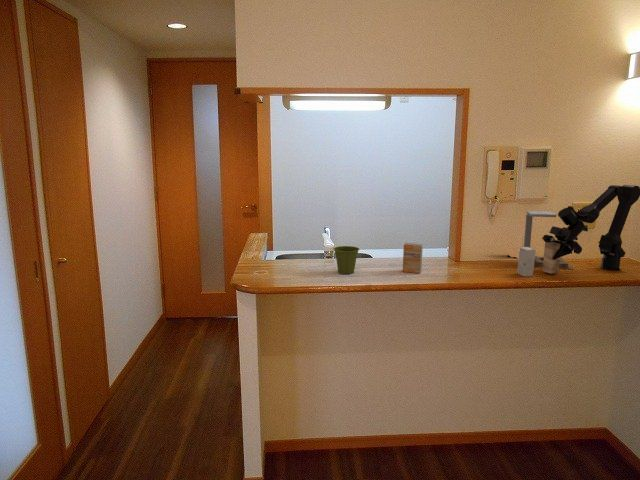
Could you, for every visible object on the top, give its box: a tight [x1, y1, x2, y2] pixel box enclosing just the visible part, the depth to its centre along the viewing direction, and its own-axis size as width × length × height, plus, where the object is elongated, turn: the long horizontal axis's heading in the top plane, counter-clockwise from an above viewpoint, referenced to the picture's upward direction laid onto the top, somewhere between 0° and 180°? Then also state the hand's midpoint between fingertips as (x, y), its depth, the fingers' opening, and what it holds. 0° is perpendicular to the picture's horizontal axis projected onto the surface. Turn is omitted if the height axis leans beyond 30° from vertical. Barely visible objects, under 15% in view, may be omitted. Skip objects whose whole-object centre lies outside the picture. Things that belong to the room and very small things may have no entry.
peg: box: [542, 242, 560, 275], centre depth 202 cm, size 5×5×13 cm
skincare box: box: [516, 246, 537, 277], centre depth 200 cm, size 6×4×12 cm
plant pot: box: [332, 245, 360, 275], centre depth 206 cm, size 12×12×11 cm
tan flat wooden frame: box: [534, 255, 575, 271], centre depth 219 cm, size 18×16×2 cm
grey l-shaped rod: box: [523, 210, 557, 248], centre depth 219 cm, size 12×12×25 cm
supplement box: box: [402, 242, 424, 274], centre depth 207 cm, size 8×5×13 cm, turn 70°
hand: (549, 257), depth 202 cm, fingers closed on peg, 4 cm apart
